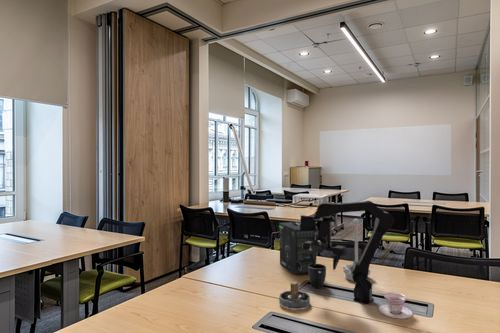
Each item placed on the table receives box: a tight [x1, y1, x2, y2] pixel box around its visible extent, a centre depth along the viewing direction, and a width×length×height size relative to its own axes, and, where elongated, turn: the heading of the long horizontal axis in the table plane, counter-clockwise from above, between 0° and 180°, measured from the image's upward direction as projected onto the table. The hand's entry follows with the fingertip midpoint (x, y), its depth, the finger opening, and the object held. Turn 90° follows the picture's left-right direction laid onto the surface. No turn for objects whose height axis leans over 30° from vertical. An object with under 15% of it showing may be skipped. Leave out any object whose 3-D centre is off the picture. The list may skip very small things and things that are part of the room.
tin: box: [278, 290, 311, 311], centre depth 140 cm, size 12×12×3 cm
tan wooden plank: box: [290, 281, 299, 299], centre depth 140 cm, size 2×3×8 cm, turn 142°
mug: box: [307, 263, 327, 289], centre depth 158 cm, size 8×12×10 cm
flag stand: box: [342, 218, 371, 282], centre depth 170 cm, size 13×13×30 cm
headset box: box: [278, 221, 316, 276], centre depth 187 cm, size 22×12×26 cm, turn 17°
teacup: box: [378, 292, 414, 320], centre depth 131 cm, size 12×12×6 cm
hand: (324, 267), depth 146 cm, fingers open, 9 cm apart
